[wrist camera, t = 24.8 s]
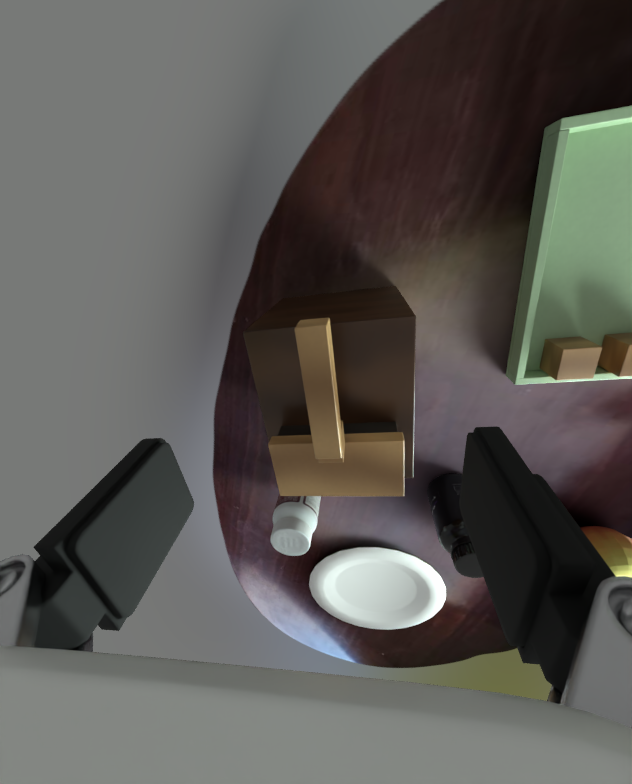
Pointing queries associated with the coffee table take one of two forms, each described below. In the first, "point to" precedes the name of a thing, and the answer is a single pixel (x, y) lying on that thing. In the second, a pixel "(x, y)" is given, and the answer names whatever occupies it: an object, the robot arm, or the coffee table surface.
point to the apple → (612, 548)
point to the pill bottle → (294, 523)
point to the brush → (333, 435)
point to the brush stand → (340, 360)
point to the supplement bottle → (452, 523)
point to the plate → (377, 587)
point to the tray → (577, 242)
